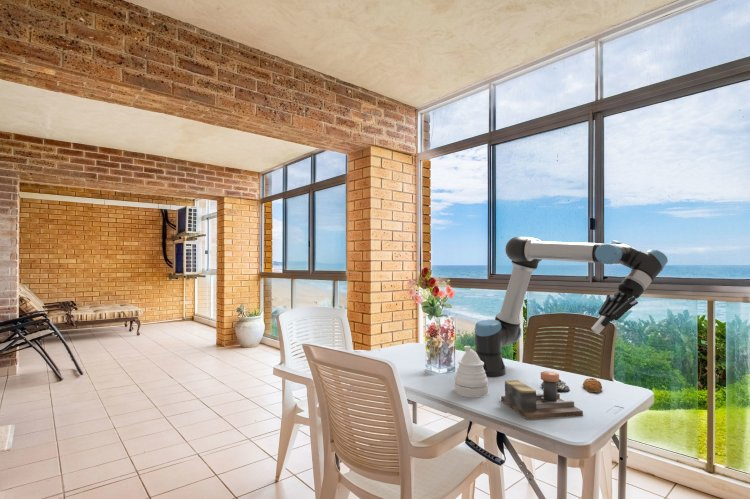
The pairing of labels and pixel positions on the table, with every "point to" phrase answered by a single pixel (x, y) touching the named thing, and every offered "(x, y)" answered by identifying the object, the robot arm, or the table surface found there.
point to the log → (561, 387)
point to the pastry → (592, 385)
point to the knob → (549, 386)
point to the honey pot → (471, 375)
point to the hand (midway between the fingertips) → (594, 331)
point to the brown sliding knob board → (536, 403)
